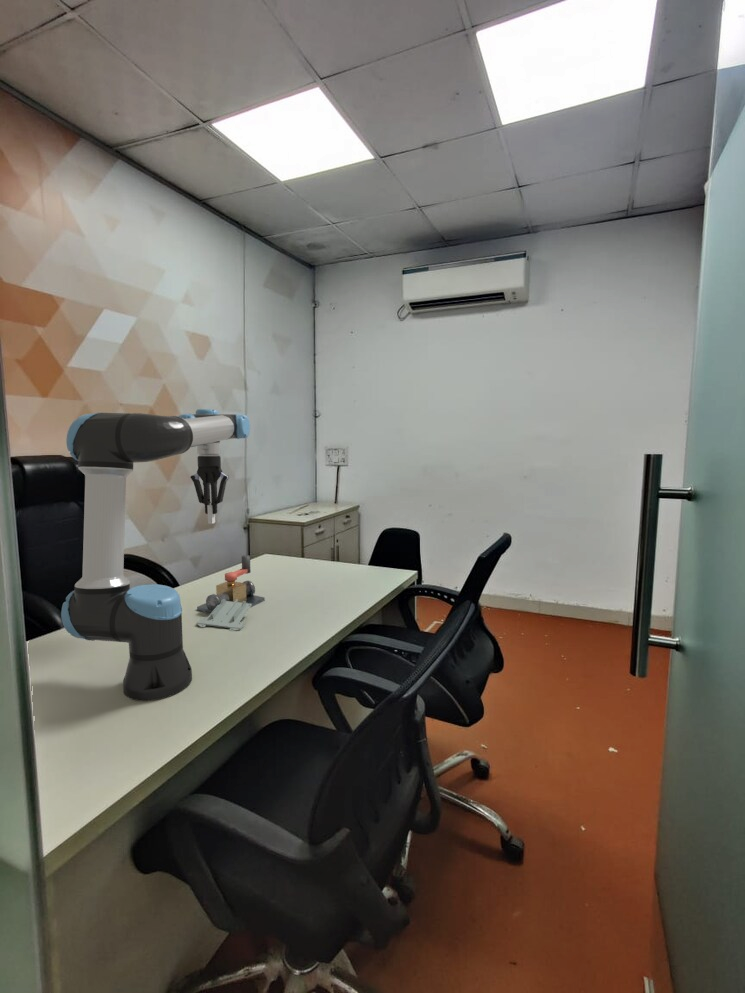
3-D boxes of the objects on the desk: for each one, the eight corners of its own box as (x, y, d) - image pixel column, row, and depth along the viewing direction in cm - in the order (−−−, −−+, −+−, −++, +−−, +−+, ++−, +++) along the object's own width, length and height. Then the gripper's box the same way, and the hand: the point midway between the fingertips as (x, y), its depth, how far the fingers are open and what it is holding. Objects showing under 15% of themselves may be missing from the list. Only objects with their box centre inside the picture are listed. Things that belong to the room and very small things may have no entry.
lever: (232, 581, 164) (231, 564, 163) (222, 580, 166) (221, 563, 165) (253, 571, 176) (252, 555, 175) (244, 570, 177) (243, 554, 176)
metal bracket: (216, 593, 161) (258, 598, 158) (219, 608, 163) (260, 612, 160) (193, 621, 148) (238, 626, 145) (196, 636, 151) (240, 642, 148)
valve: (228, 617, 157) (227, 591, 156) (197, 610, 163) (196, 584, 162) (264, 600, 173) (263, 576, 172) (234, 594, 179) (234, 570, 178)
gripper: (185, 455, 161) (188, 524, 164) (223, 455, 161) (226, 525, 164) (194, 454, 169) (197, 520, 172) (231, 454, 168) (233, 521, 171)
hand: (211, 523), depth 168 cm, fingers closed
